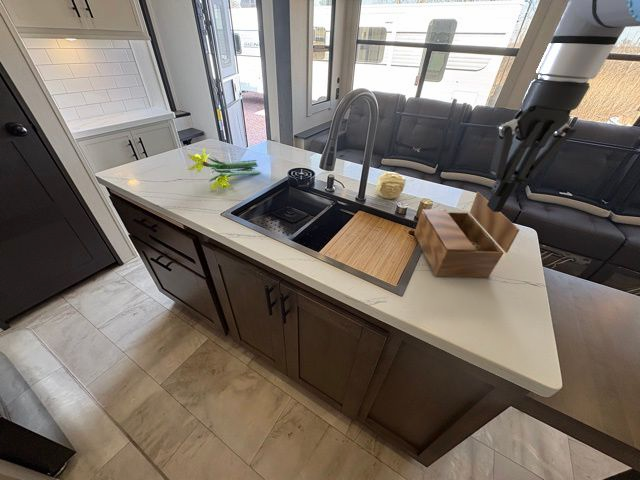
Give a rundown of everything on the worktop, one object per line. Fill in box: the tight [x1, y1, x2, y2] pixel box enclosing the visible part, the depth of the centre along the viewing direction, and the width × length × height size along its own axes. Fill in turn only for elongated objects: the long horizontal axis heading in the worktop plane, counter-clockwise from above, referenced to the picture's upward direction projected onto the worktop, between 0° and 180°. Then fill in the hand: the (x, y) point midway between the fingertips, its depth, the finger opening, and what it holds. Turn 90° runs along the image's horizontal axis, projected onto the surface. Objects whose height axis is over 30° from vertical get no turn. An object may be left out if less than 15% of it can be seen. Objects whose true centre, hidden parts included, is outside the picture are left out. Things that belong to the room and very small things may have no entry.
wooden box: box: [413, 191, 520, 278], centre depth 78 cm, size 21×17×17 cm
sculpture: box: [375, 171, 406, 200], centre depth 111 cm, size 12×12×11 cm
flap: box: [421, 208, 476, 251], centre depth 77 cm, size 21×8×1 cm, turn 1°
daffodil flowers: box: [187, 145, 261, 192], centre depth 113 cm, size 17×15×35 cm
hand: (493, 208), depth 54 cm, fingers closed
